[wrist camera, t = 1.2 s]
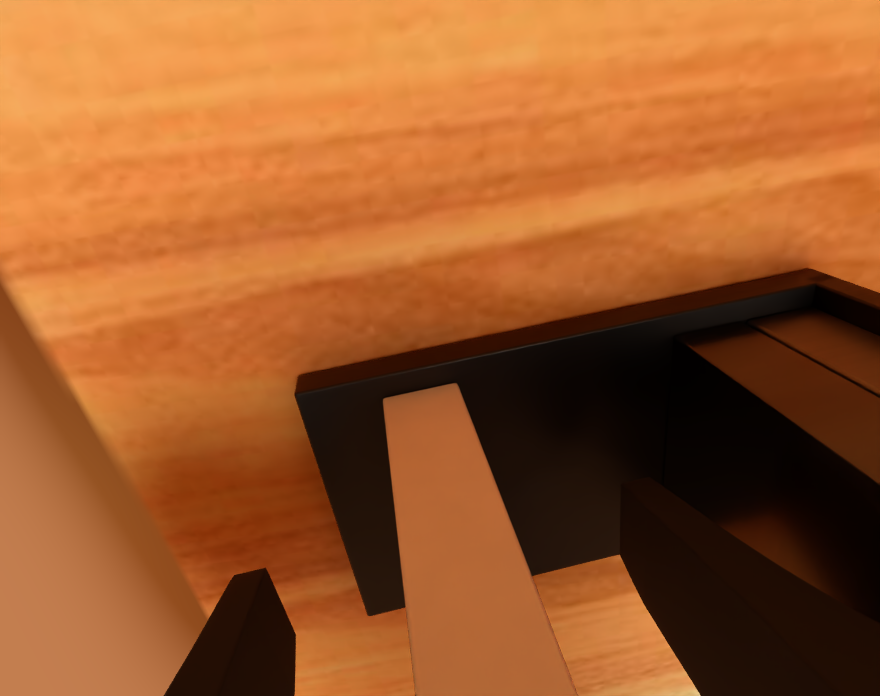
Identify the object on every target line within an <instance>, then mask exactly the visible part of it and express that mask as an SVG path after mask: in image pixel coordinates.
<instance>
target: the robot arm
mask: <svg viewBox="0 0 880 696" xmlns="http://www.w3.org/2000/svg"><path fill="white" fill-rule="evenodd" d="M620 556H621V558H622V560H623V562H624V564H625V566H626V568H627V571H628V573H629V575H630V577H631V579H632V581H633V583H634V585H635V587H636V589H637V591H638V593H639V595H640V597H641V599H642V601H643V603H644V605H645V607H646V608H647V610H648V611H649V613H650V615H651V616H652V618H653V620H654V621H655V623H656V624H657V626H658V628H659V629H660V631H661V632H662V634H663V636H664V637H665V639H666V641H667V642H668V644H669V645H670V647H671V649H672V650H673V652H674V653H675V655H676V657H677V658H678V660H679V661H680V663H681V664H682V666H683V668H684V669H685V671H686V672H687V674H688V676H689V677H690V679H691V680H692V682H693V684H694V685H695V687H696V688H697V690H698V692H699V693H700V695H701V696H880V623H878V622H876V621H874V620H873V619H871V618H869V617H867V616H865V615H863V614H861V613H860V612H858V611H856V610H854V609H852V608H850V607H848V606H847V605H845V604H843V603H841V602H840V601H838V600H836V599H834V598H833V597H831V596H829V595H827V594H826V593H824V592H822V591H821V590H819V589H817V588H816V587H814V586H812V585H811V584H809V583H807V582H806V581H804V580H802V579H801V578H799V577H797V576H796V575H794V574H792V573H791V572H789V571H787V570H786V569H784V568H783V567H781V566H780V565H778V564H776V563H775V562H773V561H772V560H770V559H768V558H767V557H765V556H764V555H762V554H761V553H759V552H758V551H756V550H755V549H753V548H752V547H750V546H749V545H747V544H746V543H744V542H743V541H741V540H740V539H738V538H737V537H735V536H734V535H732V534H731V533H729V532H728V531H726V530H725V529H723V528H722V527H720V526H719V525H717V524H716V523H714V522H713V521H712V520H710V519H709V518H707V517H706V516H704V515H703V514H702V513H700V512H699V511H697V510H696V509H694V508H693V507H692V506H690V505H689V504H687V503H686V502H685V501H683V500H682V499H680V498H679V497H677V496H676V495H675V494H673V493H672V492H670V491H669V490H668V489H666V488H665V487H663V486H662V485H660V484H659V483H658V482H656V481H655V480H653V479H652V478H650V477H646V478H642V479H638V480H634V481H629V482H625V483H621V504H620ZM295 658H296V634H295V632H294V629H293V627H292V625H291V623H290V620H289V618H288V616H287V614H286V612H285V609H284V607H283V605H282V603H281V600H280V598H279V596H278V594H277V591H276V589H275V587H274V585H273V582H272V580H271V578H270V576H269V573H268V571H267V569H266V568H263V569H259V570H254V571H250V572H246V573H242V574H238V575H234V576H233V578H232V579H231V580H230V582H229V584H228V586H227V587H226V589H225V591H224V593H223V594H222V596H221V598H220V600H219V602H218V603H217V605H216V607H215V609H214V611H213V612H212V614H211V616H210V618H209V619H208V621H207V623H206V625H205V627H204V628H203V630H202V632H201V634H200V635H199V637H198V639H197V641H196V642H195V644H194V646H193V648H192V650H191V651H190V653H189V654H188V656H187V658H186V659H185V661H184V663H183V664H182V666H181V668H180V669H179V671H178V673H177V674H176V676H175V678H174V680H173V681H172V683H171V684H170V686H169V688H168V689H167V691H166V693H165V695H164V696H294V694H295Z"/></svg>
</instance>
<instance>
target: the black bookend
mask: <svg viewBox="0 0 880 696" xmlns="http://www.w3.org/2000/svg"><path fill="white" fill-rule="evenodd" d="M452 383H457V385H458V387H459V389H460V392H461V394H462V397H463V399H464V402H465V405H466V407H467V410H468V412H469V415H470V418H471V420H472V423H473V425H474V428H475V430H476V433H477V436H478V438H479V441H480V443H481V446H482V449H483V451H484V454H485V456H486V459H487V461H488V464H489V467H490V469H491V472H492V474H493V477H494V480H495V482H496V485H497V487H498V490H499V492H500V495H501V498H502V500H503V503H504V505H505V508H506V511H507V513H508V516H509V518H510V521H511V523H512V526H513V529H514V531H515V534H516V536H517V539H518V542H519V544H520V547H521V549H522V552H523V554H524V557H525V560H526V562H527V565H528V567H529V570H530V573H531V575H532V576H534V575H538V574H542V573H546V572H550V571H554V570H558V569H562V568H566V567H570V566H574V565H578V564H582V563H586V562H590V561H595V560H599V559H603V558H607V557H611V556H615V555H619V554H620V504H621V483H625V482H629V481H634V480H638V479H642V478H646V477H650V478H652V479H653V480H655V481H656V482H658V483H659V484H660V485H662V486H663V487H665V488H666V489H668V490H669V491H670V492H672V493H673V494H675V495H676V496H677V497H679V498H680V499H682V500H683V501H685V502H686V503H687V504H689V505H690V506H692V507H693V508H694V509H696V510H697V511H699V512H700V513H702V514H703V515H704V516H706V517H707V518H709V519H710V520H712V521H713V522H714V523H716V524H717V525H719V526H720V527H722V528H723V529H725V530H726V531H728V532H729V533H731V534H732V535H734V536H735V537H737V538H738V539H740V540H741V541H743V542H744V543H746V544H747V545H749V546H750V547H752V548H753V549H755V550H756V551H758V552H759V553H761V554H762V555H764V556H765V557H767V558H768V559H770V560H772V561H773V562H775V563H776V564H778V565H780V566H781V567H783V568H784V569H786V570H787V571H789V572H791V573H792V574H794V575H796V576H797V577H799V578H801V579H802V580H804V581H806V582H807V583H809V584H811V585H812V586H814V587H816V588H817V589H819V590H821V591H822V592H824V593H826V594H827V595H829V596H831V597H833V598H834V599H836V600H838V601H840V602H841V603H843V604H845V605H847V606H848V607H850V608H852V609H854V610H856V611H858V612H860V613H861V614H863V615H865V616H867V617H869V618H871V619H873V620H874V621H876V622H878V623H880V293H878V292H875V291H872V290H870V289H867V288H864V287H861V286H858V285H855V284H853V283H850V282H847V281H844V280H841V279H838V278H836V277H833V276H830V275H827V274H824V273H822V272H819V271H816V270H813V269H808V270H804V271H799V272H794V273H789V274H785V275H780V276H775V277H770V278H765V279H761V280H756V281H751V282H746V283H741V284H737V285H732V286H727V287H722V288H718V289H713V290H708V291H703V292H698V293H694V294H689V295H684V296H679V297H674V298H670V299H665V300H660V301H655V302H651V303H646V304H641V305H636V306H631V307H627V308H622V309H617V310H612V311H607V312H603V313H598V314H593V315H588V316H583V317H579V318H574V319H569V320H564V321H560V322H555V323H550V324H545V325H540V326H536V327H531V328H526V329H521V330H516V331H512V332H507V333H502V334H497V335H493V336H488V337H483V338H478V339H473V340H469V341H464V342H459V343H454V344H449V345H445V346H440V347H435V348H430V349H425V350H421V351H416V352H411V353H406V354H402V355H397V356H392V357H387V358H382V359H378V360H373V361H368V362H363V363H358V364H354V365H349V366H344V367H339V368H335V369H330V370H325V371H320V372H315V373H311V374H306V375H301V376H298V379H297V384H296V389H295V398H296V401H297V404H298V407H299V410H300V413H301V416H302V419H303V422H304V426H305V429H306V432H307V435H308V438H309V441H310V444H311V447H312V450H313V453H314V456H315V459H316V462H317V465H318V468H319V471H320V474H321V477H322V480H323V483H324V486H325V489H326V492H327V495H328V498H329V501H330V504H331V507H332V510H333V513H334V516H335V519H336V522H337V525H338V528H339V531H340V534H341V537H342V540H343V543H344V546H345V549H346V552H347V555H348V558H349V561H350V564H351V567H352V570H353V573H354V576H355V579H356V582H357V585H358V588H359V591H360V594H361V597H362V600H363V603H364V606H365V609H366V612H367V615H368V616H373V615H377V614H381V613H385V612H389V611H393V610H397V609H401V608H405V607H406V606H405V597H404V588H403V579H402V570H401V561H400V552H399V543H398V534H397V525H396V516H395V507H394V498H393V489H392V480H391V471H390V462H389V453H388V444H387V435H386V426H385V417H384V408H383V399H384V398H387V397H391V396H396V395H401V394H405V393H410V392H415V391H419V390H424V389H429V388H433V387H438V386H443V385H447V384H452Z"/></svg>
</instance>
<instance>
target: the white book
mask: <svg viewBox="0 0 880 696" xmlns="http://www.w3.org/2000/svg"><path fill="white" fill-rule="evenodd" d="M383 408H384V417H385V426H386V435H387V444H388V453H389V462H390V471H391V480H392V489H393V498H394V507H395V516H396V525H397V534H398V543H399V552H400V561H401V570H402V579H403V588H404V597H405V606H406V615H407V624H408V633H409V642H410V651H411V660H412V669H413V678H414V687H415V696H578V694H577V691H576V689H575V686H574V684H573V681H572V678H571V676H570V673H569V671H568V668H567V666H566V663H565V660H564V658H563V655H562V653H561V650H560V647H559V645H558V642H557V640H556V637H555V635H554V632H553V629H552V627H551V624H550V622H549V619H548V616H547V614H546V611H545V609H544V606H543V604H542V601H541V598H540V596H539V593H538V591H537V588H536V585H535V583H534V580H533V578H532V575H531V573H530V570H529V567H528V565H527V562H526V560H525V557H524V554H523V552H522V549H521V547H520V544H519V542H518V539H517V536H516V534H515V531H514V529H513V526H512V523H511V521H510V518H509V516H508V513H507V511H506V508H505V505H504V503H503V500H502V498H501V495H500V492H499V490H498V487H497V485H496V482H495V480H494V477H493V474H492V472H491V469H490V467H489V464H488V461H487V459H486V456H485V454H484V451H483V449H482V446H481V443H480V441H479V438H478V436H477V433H476V430H475V428H474V425H473V423H472V420H471V418H470V415H469V412H468V410H467V407H466V405H465V402H464V399H463V397H462V394H461V392H460V389H459V387H458V385H457V383H452V384H447V385H443V386H438V387H433V388H429V389H424V390H419V391H415V392H410V393H405V394H401V395H396V396H391V397H387V398H384V399H383Z"/></svg>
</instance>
